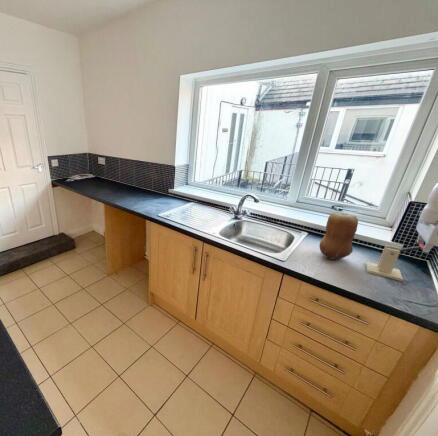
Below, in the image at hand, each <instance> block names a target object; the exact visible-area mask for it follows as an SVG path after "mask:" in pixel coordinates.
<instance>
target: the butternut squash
mask: <svg viewBox="0 0 438 436" xmlns="http://www.w3.org/2000/svg"><path fill="white" fill-rule="evenodd" d="M326 221H327V222H326V225H325V235H324V236H323V237H322V238H321V240H320V242H319V250H320V253H321V254H322V256H325V257H326V258H327V259H329V260H333V261H338V260H341V259H344V258H346V257H348V256H350V255H351V254H352V253H353V250H354V249H353V240H354V238H355V235H356V233H357V230H358V224H359V220H358V217H357V215H355V214H352V213H348V212H332V213H331V214H330V215H329V216H328V218H327V220H326Z"/></svg>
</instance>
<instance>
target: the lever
mask: <svg viewBox="0 0 438 436" xmlns="http://www.w3.org/2000/svg"><path fill="white" fill-rule="evenodd" d="M424 246H425V244H424V243H423V244H418V246H411V247H404V248H399V249H395V248H390V249H394V250H399V251H400V253H402V252H409V251H417V250H422V249H423V247H424Z"/></svg>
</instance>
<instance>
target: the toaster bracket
mask: <svg viewBox="0 0 438 436" xmlns="http://www.w3.org/2000/svg"><path fill="white" fill-rule="evenodd" d="M390 248H395V249H400V248H399V247H398V246H393V245H389V244H385V245H384V248H383V250H382V253H381V255H380V257H379V261H378V262H377V263H373V262H369V261H366V262H365V266H366V267H365V268H366V272H367V273H369V274H372V275H377V276H379V277H380V276H381V277H384V278H388V279H391V280H395V281H399V282H403V281H404V277H403V275H402V272H401V271H400V269H398V268H395V265H396V263H397V260H398V258H399V256H400V255H401V254H400V253H401V252H400V251H399V250H394V249H390Z"/></svg>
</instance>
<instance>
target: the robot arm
mask: <svg viewBox="0 0 438 436" xmlns="http://www.w3.org/2000/svg"><path fill="white" fill-rule="evenodd" d="M418 215H419V217H418V221H417V223H416V227H415V228H416V229H415V230H416V232H417V233H418V236H417V241H416V243H417V244H418V245H419V244H424V243H425V244H424V247H423V249H421V251H422V252H423V253H430V250H432V249H433V248H434V247H438V182H437V183H436V184H435V185H434V186H433V188H432V190H431V191H430V193H429V196H428V198H427V204H425V206H424V207H423V209H422V210H420V211H419V213H418Z"/></svg>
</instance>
